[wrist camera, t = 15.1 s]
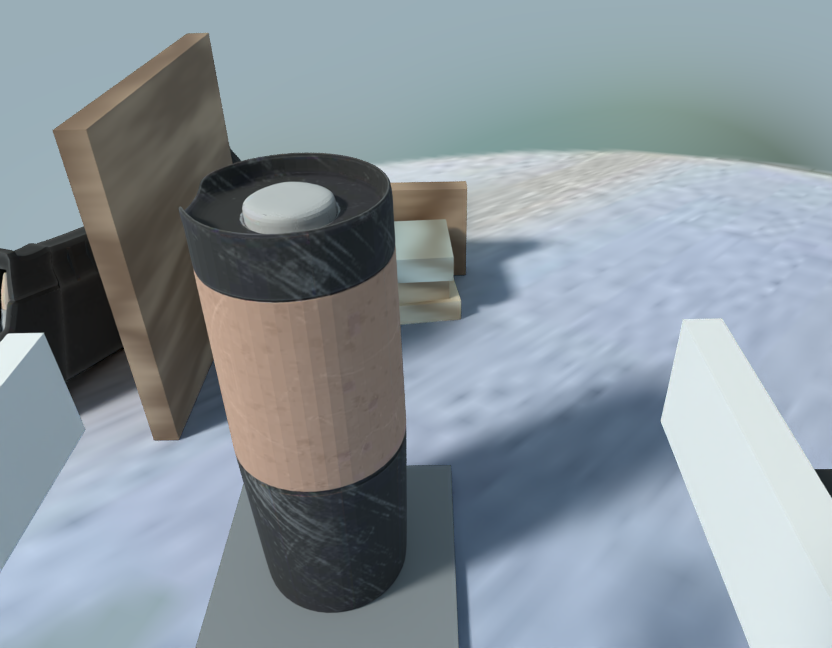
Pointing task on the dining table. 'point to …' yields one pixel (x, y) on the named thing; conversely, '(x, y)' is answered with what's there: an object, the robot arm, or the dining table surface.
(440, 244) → the offcut stack
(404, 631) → the grey mat
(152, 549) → the dining table surface
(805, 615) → the robot arm
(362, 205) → the travel mug
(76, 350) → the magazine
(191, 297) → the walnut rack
